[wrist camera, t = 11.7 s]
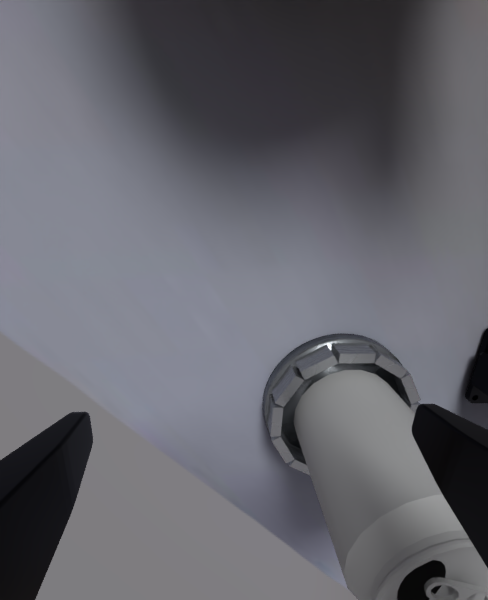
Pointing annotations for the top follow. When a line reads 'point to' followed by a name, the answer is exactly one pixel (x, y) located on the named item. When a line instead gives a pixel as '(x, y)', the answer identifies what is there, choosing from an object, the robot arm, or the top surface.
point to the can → (382, 495)
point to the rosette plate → (316, 365)
